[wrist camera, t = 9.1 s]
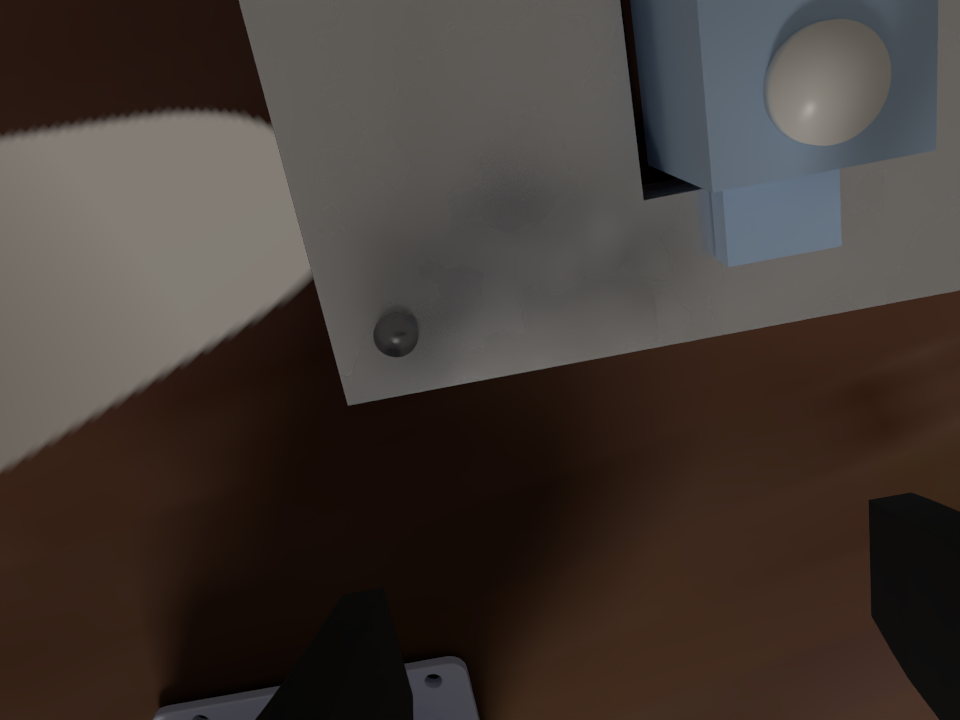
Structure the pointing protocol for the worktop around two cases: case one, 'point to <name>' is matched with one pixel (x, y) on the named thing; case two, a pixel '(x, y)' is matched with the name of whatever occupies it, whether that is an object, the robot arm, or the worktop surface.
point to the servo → (783, 107)
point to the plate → (542, 195)
